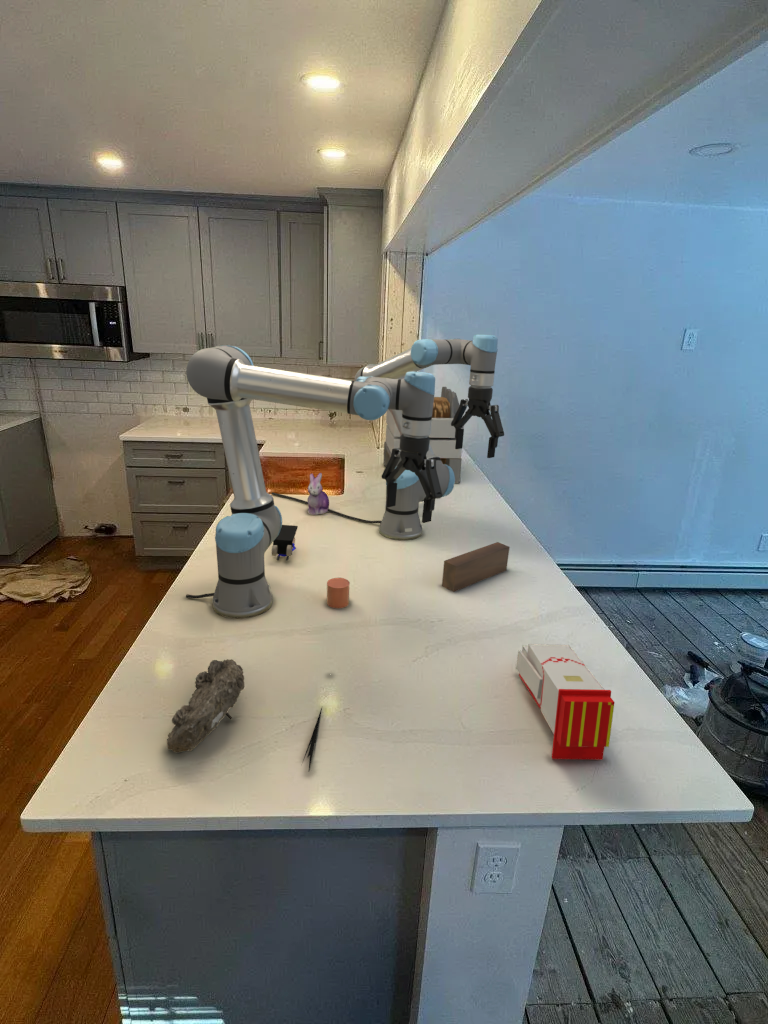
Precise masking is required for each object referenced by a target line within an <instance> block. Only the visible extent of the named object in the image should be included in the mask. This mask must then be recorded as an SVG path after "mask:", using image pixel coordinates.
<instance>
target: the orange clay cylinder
mask: <svg viewBox="0 0 768 1024" xmlns="http://www.w3.org/2000/svg"><path fill="white" fill-rule="evenodd" d="M350 584H351V583H350V580H348V579H347V578H343V577H332V578H330V579H328V580H327V581H326V605H327V606H328V607H329V608H332V609H343V608H346V607H348V606H349V605H350V592H351V591H350V589H351V587H350V586H351V585H350Z"/></svg>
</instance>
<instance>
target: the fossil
mask: <svg viewBox="0 0 768 1024" xmlns="http://www.w3.org/2000/svg"><path fill="white" fill-rule="evenodd" d="M243 670H244V669H243V667H242V665H240V664H237V662H236V661H235V660H234V659H232V658H231V659H227V658H226V659H224V660H223V661H222V660H217V659H212V660H211V661H210V663H209V665H208V666H207V671H201V672H199V673H198V674H197V675H196V676H195V680H194V684H195V685H194V687H195V689H194V690H193V693H192V694H191V697H190V698H189V700H188V704H184V705H182V706H181V707H180V709H177V710H176V711H175V713H174V715H173V716H172V718H171V723H172V724H173V727H172V730H171V731H170V732H168V734H167V738H166V741H167V742H166V745H167V749H168V750H169V751H173V752H174V753H176V754H178V753H182V752H188V751H189V752H192V751H193V750H195V748H196V747H197V746H199V744H200V743H201V742H203V741H204V740H205V739H206V738H207V737H208V736H209V735H210V734H211V733H212V732H214V730H215V729H217V727H218V726H219V724H220V722H221V721H222V720H223V719H224V718H225V716H226V717H227V719H229V720H233V717H232V715H230V714H229V710H230V709H231V708H234V706H235V704H236V703H237V702H238V699H239V697H240V695H241V693H242V691H243V690H245V689H244V688H245V675H244V671H243Z"/></svg>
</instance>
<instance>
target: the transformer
mask: <svg viewBox="0 0 768 1024" xmlns="http://www.w3.org/2000/svg"><path fill="white" fill-rule="evenodd" d="M440 393H441V394H440V396H434V403H433V412H432V422H431V434H430V435H429V436H428V437H429V438H430V443H429V444H430V446H431V449H432V451H433V453H434V455H436V456H439V457H440V459H441V461H442V464H446V465H448V466H450V467H451V468H452V470H453V472H454V476H455V483H456V484H459V483H461V472H462V461H463V460H462V453H463V447H462V448H461V449H455V445H456V438H455V427H454V426H451V422H452V420H453V418H454V416H455V414H456V412H457V410H458V408H459V406H460V401H459V398H458V395H457V392H455V391H453V390H452V389H451V388H447V386H442V387H441V392H440ZM385 414H386V415H385V423H386V428H385V438H384V442H383V466H384V467H386V466H387V463H388V461H389V459H390V457H391V453H392V449H394V448H400V447H399V446H400V436H401V435H400V433H399V430H398V428H397V425H396V423H395V420H394V418H393V416H392V413H391V411H390V409H388V410H387V412H386V413H385ZM461 429H464V430H465V425H464V426H463V428H461ZM400 461H401V457H400V459H399V462H400ZM399 462H398V464H399ZM398 464H397V465H398ZM396 467H397V466H396Z"/></svg>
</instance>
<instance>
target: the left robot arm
mask: <svg viewBox="0 0 768 1024" xmlns="http://www.w3.org/2000/svg"><path fill="white" fill-rule="evenodd" d="M185 374H186V379H187V382H188V384H189V386H190V387H191V388H192V390H193V391H194V392H195V393H196V394H198V395H200V396H201V397H203V398H206V401H207V404H208V405H209V406H210V407H211V408H213V409H214V410H215V413H216V419H217V423H218V428H219V432H220V437H221V441H222V442H221V443H222V446H223V451H224V456H225V460H226V466H227V470H228V475H229V478H230V484H231V488H232V493H233V499H232V501H231V502H230V504H229V508H230V513H231V515H226V516H224V517H223V518H221V519H220V520H219V521H218V522H217V524H216V527H215V534H214V535H215V536H214V541H215V549H216V561H217V562H216V563H217V576H218V577H217V578H218V579H217V582H216V586H215V589H214V592H210V593H209V592H208V593H203V594H188V593H186V595H185V598H189V599H202V598H203V599H204V598H208V597H212V601H211V602H212V609H213V611H214V612H215V613H216V614H218V615H219V616H221V617H225V618H228V619H229V618H230V619H249V618H254V617H258V616H259V615H261V614H264V613H266V612H267V611H269V609H270V608H272V606H273V601H274V600H273V592H272V590H271V589H272V588H271V585H270V583H269V582H268V580H267V578H266V574H265V573H266V571H265V553H266V551H267V550H268V549H269V548H270V547H271V545H273V541H274V540H275V539H276V537H277V536H278V535H279V532H280V530H281V527H282V525H283V515H282V512H281V510H280V509H279V507H278V506H277V505H275V501H274V496H273V495H272V494H270V493H268V491H267V489H266V483H265V479H264V473H263V467H262V463H261V458H260V453H259V448H258V442H257V438H256V437H257V436H256V431H255V427H254V421H253V416H252V411H251V405H250V404H251V403H252V401H253V400H254V401H261V402H267V403H273V404H280V405H287V406H294V407H300V408H308V409H314V410H322V411H328V412H335V413H341V414H348V415H353V416H359V418H361V419H363V420H365V421H376V420H378V419H380V418H382V417H383V416H384V415H385V414H386V412H387V410H388V409H392V410H402V424H401V433H403V434H402V435H401V436H400V446H399V447H400V448H394V449H392V453H391V457H390V459H389V461H388V463H387V466H385V468H384V469H383V472H382V474H381V479H382V480H385V484H386V483H387V488H386V487H385V494H386V493H387V504H386V503H385V504H386V507H392V506H395V505H396V493H397V483H394V482H396V480H397V478H398V477H399V476H400V475H401V474H402V473H403V472H404V471H405V470H410V471H411V472H415V474H416V476H418V478H419V480H420V483H421V485H422V487H423V490H424V492H425V494H426V497H427V498H424V501H423V505H422V516H421V523H422V524H426V523H430V522H432V517H433V511H434V510H435V504H436V500H438V499H437V498H439V499H442V498H443V497H442V491H441V487H440V483H439V479H438V475H437V470H436V460H435V459H427V457H426V454H427V452H428V450H429V443H430V438H429V437H428V436H429V435H430V434H431V422H432V412H433V403H434V397H435V394H436V393H435V391H436V377H435V375H434V374H433V373H431V372H425V371H417V372H413V371H412V372H407V373H406V375H405V378H404V379H389V378H379V377H373V376H369V377H363V376H361V377H358V378H357V380H356V381H354V380H352V379H344V378H337V377H332V376H324V375H318V374H311V373H305V372H297V371H290V370H283V369H277V368H270V367H263V366H259V365H258V366H257V365H254V362H253V360H252V358H251V357H250V355H249V354H248V353H247V352H246V351H245V350H243V349H242V348H240V347H237V346H235V345H228V344H226V345H225V344H221V345H217V346H213V347H206V348H202V349H200V350H197V351H195V352H194V354H192V355H191V356H190V358H189V360H188V361H187V363H186V368H185ZM400 457H401V461H400V462H399V459H400ZM398 462H399V464H398ZM397 464H398V465H397ZM396 466H397V467H396ZM421 469H422V471H420V470H421ZM386 489H387V490H386ZM430 493H431V494H430Z"/></svg>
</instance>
